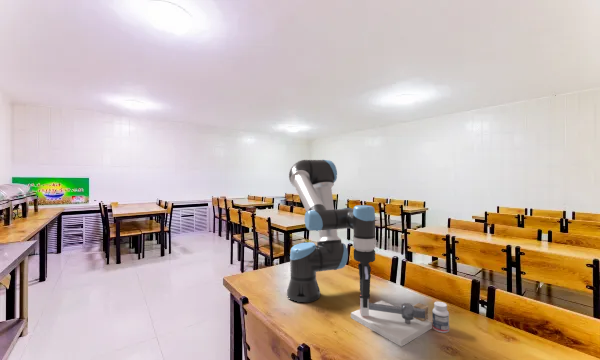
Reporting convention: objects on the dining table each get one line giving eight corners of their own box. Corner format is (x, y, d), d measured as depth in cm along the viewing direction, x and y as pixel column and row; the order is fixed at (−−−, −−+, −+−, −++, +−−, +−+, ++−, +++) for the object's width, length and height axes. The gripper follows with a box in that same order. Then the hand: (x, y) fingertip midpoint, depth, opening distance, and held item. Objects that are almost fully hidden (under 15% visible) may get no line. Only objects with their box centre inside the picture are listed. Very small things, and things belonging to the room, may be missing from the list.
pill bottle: (434, 323, 99) (434, 299, 99) (450, 328, 96) (450, 303, 96) (430, 329, 95) (430, 304, 95) (447, 335, 92) (447, 308, 92)
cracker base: (350, 317, 104) (350, 308, 104) (381, 304, 114) (381, 295, 114) (401, 346, 86) (401, 334, 86) (432, 328, 96) (432, 317, 96)
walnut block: (413, 317, 100) (413, 305, 100) (419, 314, 102) (418, 302, 102) (422, 321, 97) (422, 309, 97) (428, 318, 99) (428, 306, 99)
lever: (359, 315, 100) (359, 296, 100) (360, 310, 104) (360, 292, 104) (425, 325, 92) (425, 304, 92) (424, 319, 96) (424, 299, 96)
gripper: (378, 254, 90) (378, 325, 90) (372, 245, 103) (372, 307, 103) (355, 253, 91) (355, 324, 91) (352, 244, 104) (352, 306, 104)
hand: (364, 315), depth 97 cm, fingers closed
